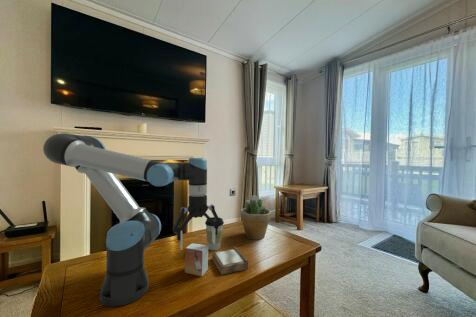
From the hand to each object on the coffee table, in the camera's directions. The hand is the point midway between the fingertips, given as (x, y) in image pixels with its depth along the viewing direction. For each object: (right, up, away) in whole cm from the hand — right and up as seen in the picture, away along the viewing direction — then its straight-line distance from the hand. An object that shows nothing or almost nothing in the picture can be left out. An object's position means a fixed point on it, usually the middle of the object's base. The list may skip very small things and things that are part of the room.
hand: (197, 245), depth 87 cm
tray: (+13, -11, +7) cm, 18 cm away
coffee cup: (+4, -11, +23) cm, 26 cm away
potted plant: (+27, -11, +40) cm, 50 cm away
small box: (-1, -11, 0) cm, 11 cm away
